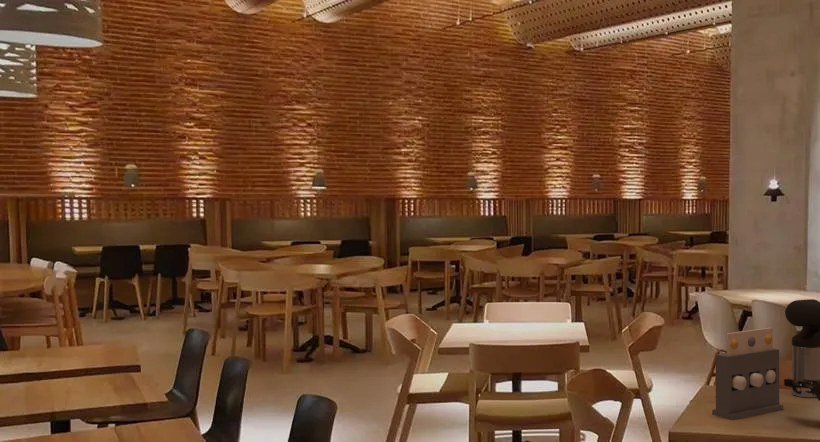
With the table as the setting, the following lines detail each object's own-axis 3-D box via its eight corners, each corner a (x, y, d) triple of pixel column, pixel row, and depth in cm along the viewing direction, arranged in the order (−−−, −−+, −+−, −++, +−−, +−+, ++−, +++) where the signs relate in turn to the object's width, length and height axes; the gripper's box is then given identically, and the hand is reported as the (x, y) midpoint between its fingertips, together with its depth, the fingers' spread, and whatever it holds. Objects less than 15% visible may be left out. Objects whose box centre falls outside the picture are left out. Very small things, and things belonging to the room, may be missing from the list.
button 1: (738, 387, 273) (738, 374, 273) (746, 389, 270) (746, 376, 270) (729, 389, 271) (729, 375, 271) (737, 390, 268) (737, 377, 268)
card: (771, 348, 281) (770, 327, 281) (773, 349, 280) (773, 328, 280) (726, 355, 271) (726, 333, 271) (729, 356, 270) (729, 333, 270)
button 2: (767, 380, 282) (767, 367, 282) (775, 382, 279) (775, 369, 279) (759, 382, 280) (759, 369, 280) (767, 383, 277) (767, 370, 277)
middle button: (755, 384, 277) (755, 371, 276) (763, 386, 274) (763, 373, 274) (746, 386, 275) (746, 373, 274) (754, 387, 272) (754, 374, 272)
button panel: (762, 404, 286) (762, 346, 286) (783, 409, 279) (783, 349, 279) (712, 414, 275) (711, 353, 274) (732, 419, 268) (732, 357, 267)
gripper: (850, 376, 258) (798, 367, 273) (822, 382, 251) (771, 372, 266) (850, 401, 258) (799, 391, 273) (822, 407, 251) (771, 396, 266)
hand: (785, 382), depth 270 cm, fingers closed
